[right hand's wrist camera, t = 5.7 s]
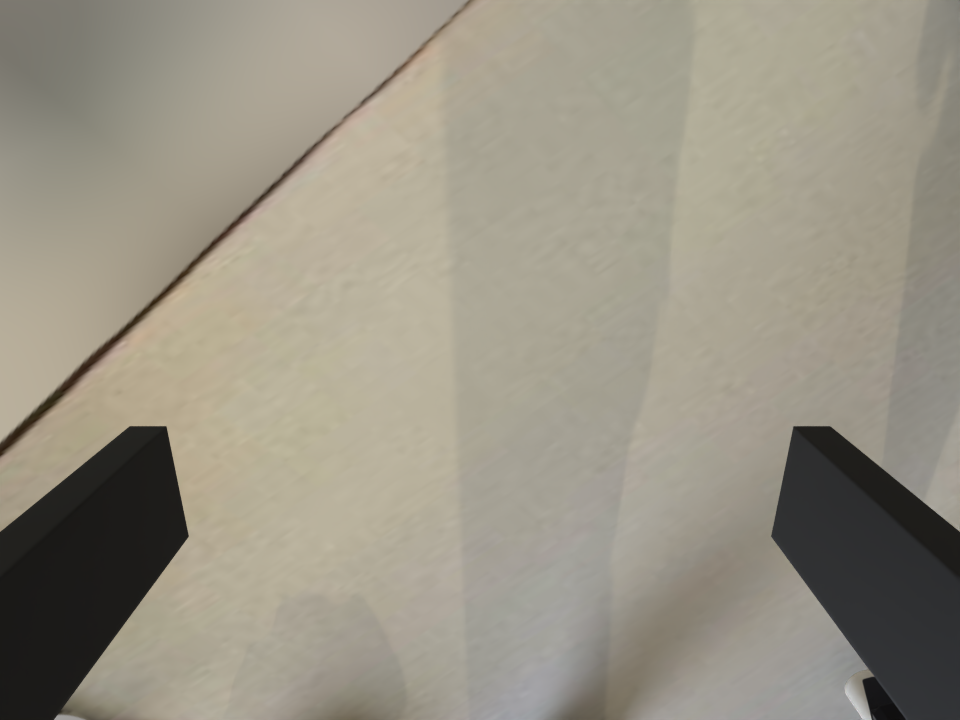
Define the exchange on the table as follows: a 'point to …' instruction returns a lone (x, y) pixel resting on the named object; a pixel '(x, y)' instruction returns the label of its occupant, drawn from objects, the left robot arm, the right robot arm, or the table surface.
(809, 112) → the table surface
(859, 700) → the can
